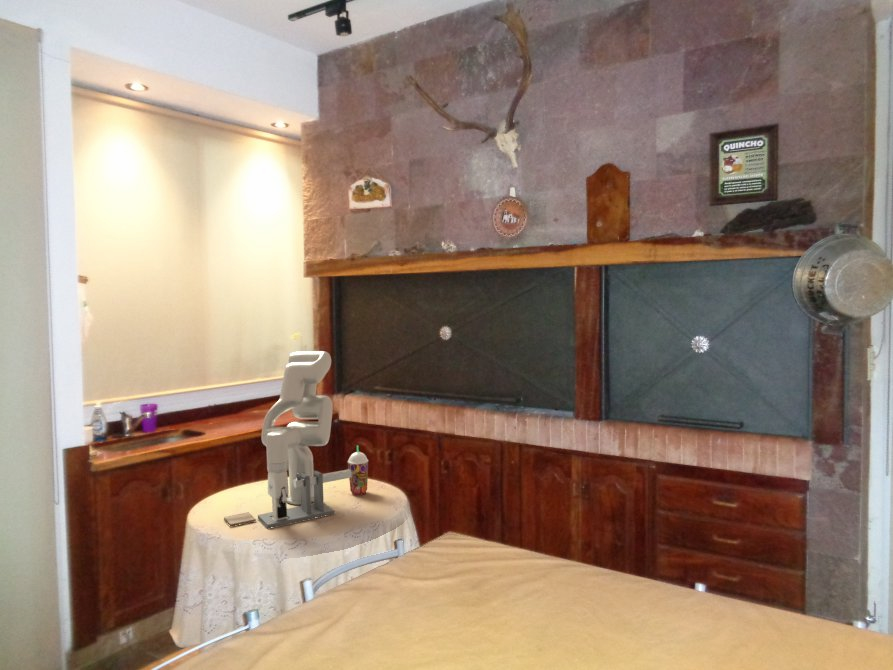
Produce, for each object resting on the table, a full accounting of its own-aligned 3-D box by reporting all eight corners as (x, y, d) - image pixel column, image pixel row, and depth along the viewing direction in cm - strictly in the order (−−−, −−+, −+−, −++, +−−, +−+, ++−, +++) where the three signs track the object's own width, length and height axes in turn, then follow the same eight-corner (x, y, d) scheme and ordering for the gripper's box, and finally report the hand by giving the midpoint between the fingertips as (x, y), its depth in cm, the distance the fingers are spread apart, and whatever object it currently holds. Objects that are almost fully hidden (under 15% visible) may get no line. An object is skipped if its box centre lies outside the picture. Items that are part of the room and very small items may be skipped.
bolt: (293, 486, 238) (293, 472, 238) (348, 475, 250) (348, 463, 250) (296, 487, 236) (295, 474, 236) (351, 477, 248) (351, 464, 248)
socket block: (257, 518, 237) (256, 477, 236) (322, 505, 251) (320, 466, 250) (267, 528, 227) (266, 486, 226) (334, 514, 241) (333, 473, 240)
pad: (224, 519, 237) (224, 517, 237) (248, 514, 242) (248, 512, 242) (230, 527, 230) (230, 524, 230) (255, 521, 235) (255, 519, 234)
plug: (271, 520, 236) (270, 492, 235) (284, 517, 238) (283, 489, 237) (275, 524, 231) (274, 496, 231) (289, 521, 234) (288, 493, 233)
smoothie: (360, 497, 259) (358, 448, 258) (344, 494, 263) (342, 446, 262) (373, 492, 266) (372, 444, 265) (357, 489, 271) (356, 442, 269)
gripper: (260, 462, 238) (262, 510, 240) (275, 473, 224) (277, 524, 226) (280, 459, 242) (282, 506, 244) (296, 469, 228) (297, 519, 230)
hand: (279, 514), depth 235 cm, fingers open, 4 cm apart
